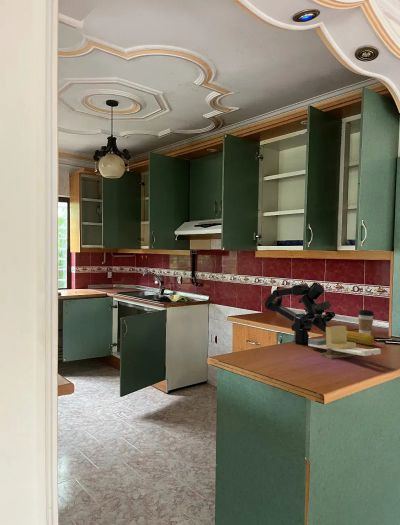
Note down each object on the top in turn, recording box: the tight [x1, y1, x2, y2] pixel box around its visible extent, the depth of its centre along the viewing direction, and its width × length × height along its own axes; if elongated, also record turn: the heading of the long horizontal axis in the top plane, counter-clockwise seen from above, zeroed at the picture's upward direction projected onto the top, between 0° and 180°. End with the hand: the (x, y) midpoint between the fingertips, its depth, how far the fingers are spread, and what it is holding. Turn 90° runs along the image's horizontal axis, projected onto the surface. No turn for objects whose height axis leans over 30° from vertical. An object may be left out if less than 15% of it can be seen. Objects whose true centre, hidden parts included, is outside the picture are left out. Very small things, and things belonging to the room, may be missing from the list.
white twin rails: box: [307, 337, 382, 357], centre depth 173 cm, size 32×10×3 cm, turn 28°
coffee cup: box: [357, 309, 375, 336], centre depth 219 cm, size 8×8×15 cm
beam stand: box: [320, 348, 356, 360], centre depth 174 cm, size 6×16×4 cm, turn 118°
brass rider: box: [325, 325, 357, 349], centre depth 173 cm, size 8×10×10 cm
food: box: [347, 330, 375, 346], centre depth 204 cm, size 21×6×6 cm, turn 36°
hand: (326, 332), depth 181 cm, fingers closed
